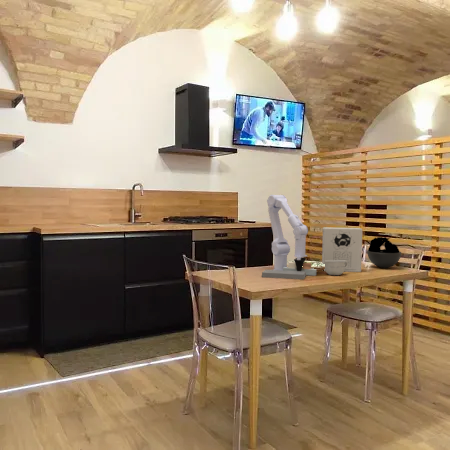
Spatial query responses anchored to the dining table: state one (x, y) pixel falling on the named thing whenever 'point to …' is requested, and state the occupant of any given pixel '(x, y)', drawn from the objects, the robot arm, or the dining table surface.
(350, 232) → the cereal box
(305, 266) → the crate terracotta
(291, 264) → the crate cream
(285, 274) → the block
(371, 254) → the coal bowl
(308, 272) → the grey rectangular bar
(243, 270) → the dining table surface
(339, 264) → the teacup
